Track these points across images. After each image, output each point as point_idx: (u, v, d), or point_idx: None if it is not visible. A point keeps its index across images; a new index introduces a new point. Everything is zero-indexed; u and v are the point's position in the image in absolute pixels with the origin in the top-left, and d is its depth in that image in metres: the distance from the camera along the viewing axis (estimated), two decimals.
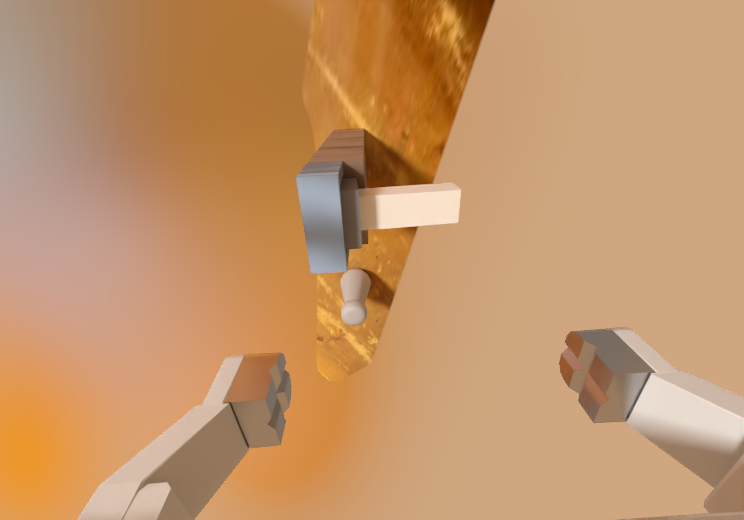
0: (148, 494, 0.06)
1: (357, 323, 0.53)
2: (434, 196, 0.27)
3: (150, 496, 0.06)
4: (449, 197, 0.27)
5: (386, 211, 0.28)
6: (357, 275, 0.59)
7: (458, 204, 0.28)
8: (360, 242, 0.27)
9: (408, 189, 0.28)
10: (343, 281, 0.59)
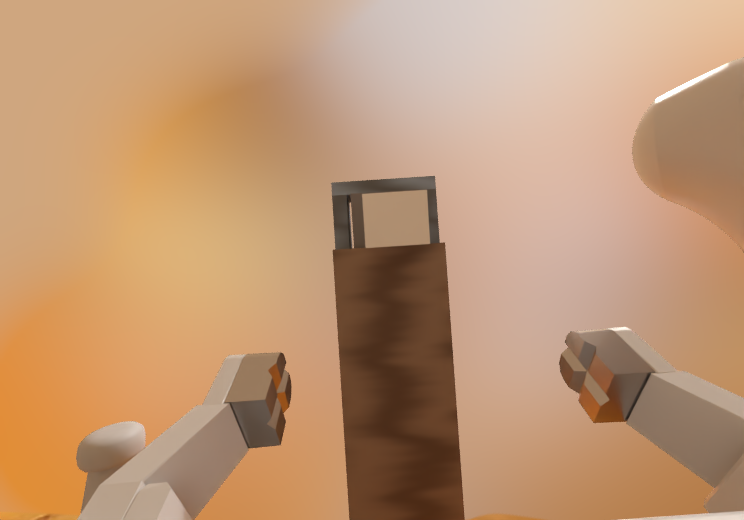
0: (148, 494, 0.06)
1: (90, 434, 0.25)
2: None
3: (150, 496, 0.06)
4: None
5: None
6: None
7: (398, 192, 0.15)
8: (357, 193, 0.24)
9: None
10: None
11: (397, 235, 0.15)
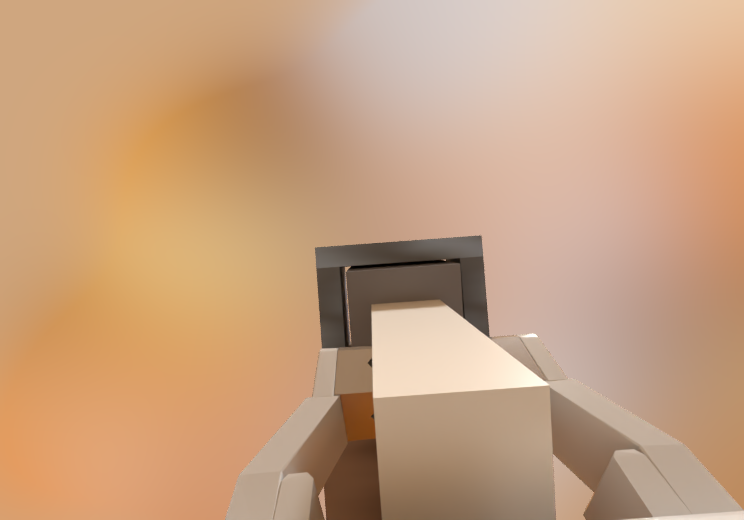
0: (293, 484, 0.06)
1: None
2: (479, 345, 0.08)
3: (295, 486, 0.06)
4: (492, 366, 0.06)
5: (413, 312, 0.12)
6: None
7: (471, 388, 0.06)
8: (358, 270, 0.14)
9: None
10: None
11: (468, 505, 0.06)
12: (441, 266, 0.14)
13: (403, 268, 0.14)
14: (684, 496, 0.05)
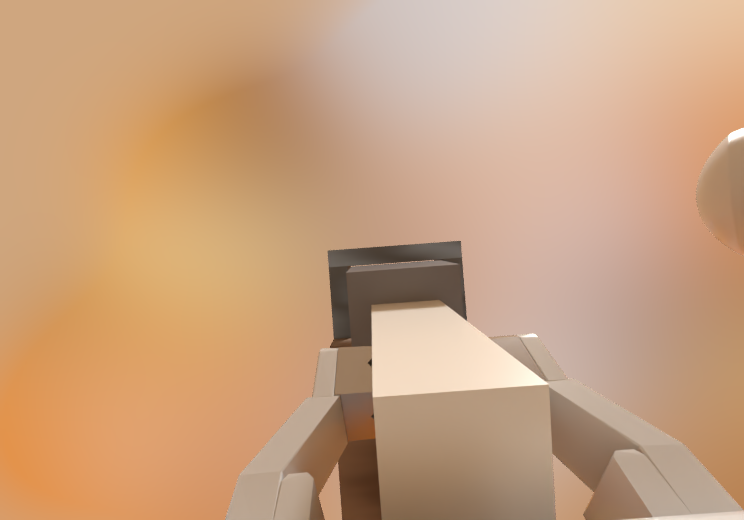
0: (292, 484, 0.06)
1: None
2: (479, 345, 0.08)
3: (295, 486, 0.06)
4: (492, 366, 0.06)
5: (413, 312, 0.12)
6: None
7: (471, 387, 0.06)
8: (358, 271, 0.14)
9: None
10: None
11: (468, 505, 0.06)
12: (441, 266, 0.14)
13: (403, 268, 0.14)
14: (684, 496, 0.05)
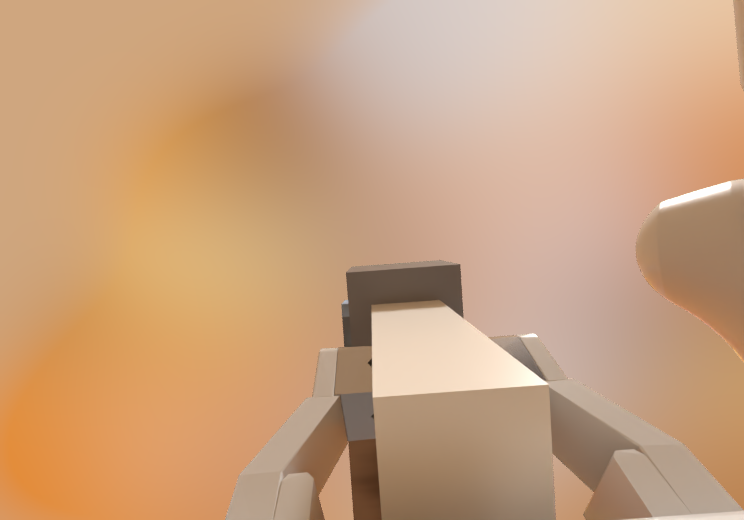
0: (293, 484, 0.06)
1: None
2: (479, 345, 0.08)
3: (295, 486, 0.06)
4: (492, 366, 0.06)
5: (413, 313, 0.12)
6: None
7: (471, 387, 0.06)
8: (358, 271, 0.14)
9: None
10: None
11: (468, 505, 0.06)
12: (441, 266, 0.14)
13: (403, 268, 0.14)
14: (684, 496, 0.05)
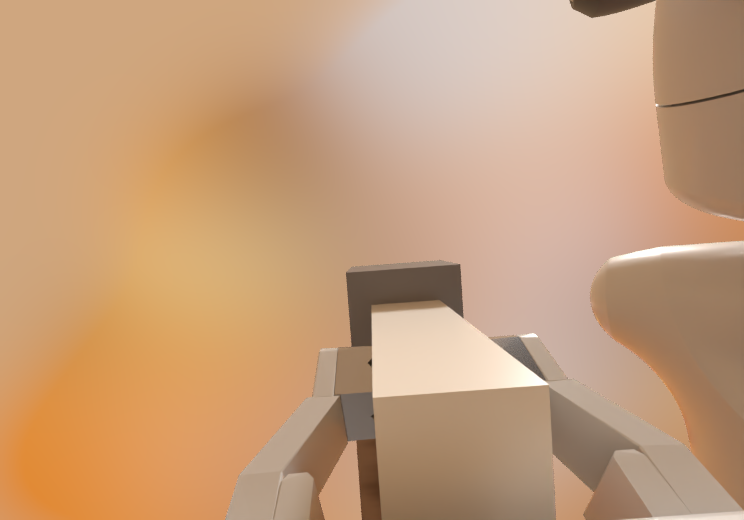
0: (292, 484, 0.06)
1: None
2: (479, 345, 0.08)
3: (295, 485, 0.06)
4: (492, 366, 0.06)
5: (413, 313, 0.12)
6: None
7: (471, 387, 0.06)
8: (358, 271, 0.14)
9: None
10: None
11: (468, 505, 0.06)
12: (441, 266, 0.14)
13: (403, 269, 0.14)
14: (684, 496, 0.05)
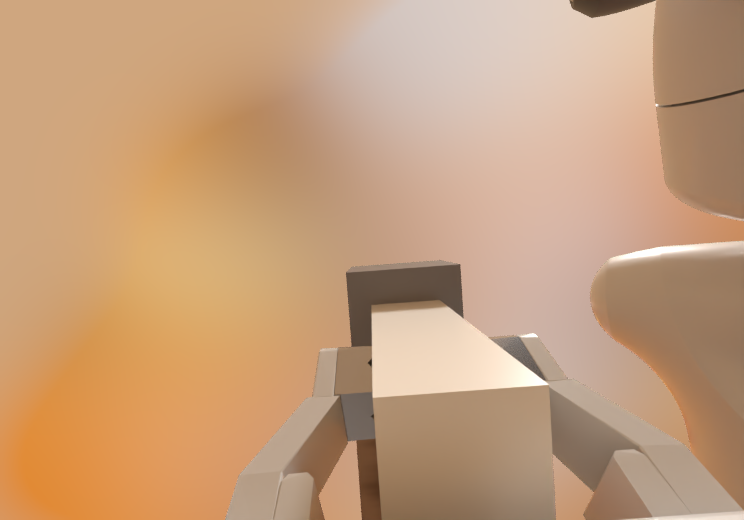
0: (292, 484, 0.06)
1: None
2: (479, 345, 0.08)
3: (295, 485, 0.06)
4: (492, 366, 0.06)
5: (413, 313, 0.12)
6: None
7: (471, 387, 0.06)
8: (358, 271, 0.14)
9: None
10: None
11: (468, 505, 0.06)
12: (441, 266, 0.14)
13: (403, 269, 0.14)
14: (684, 496, 0.05)
